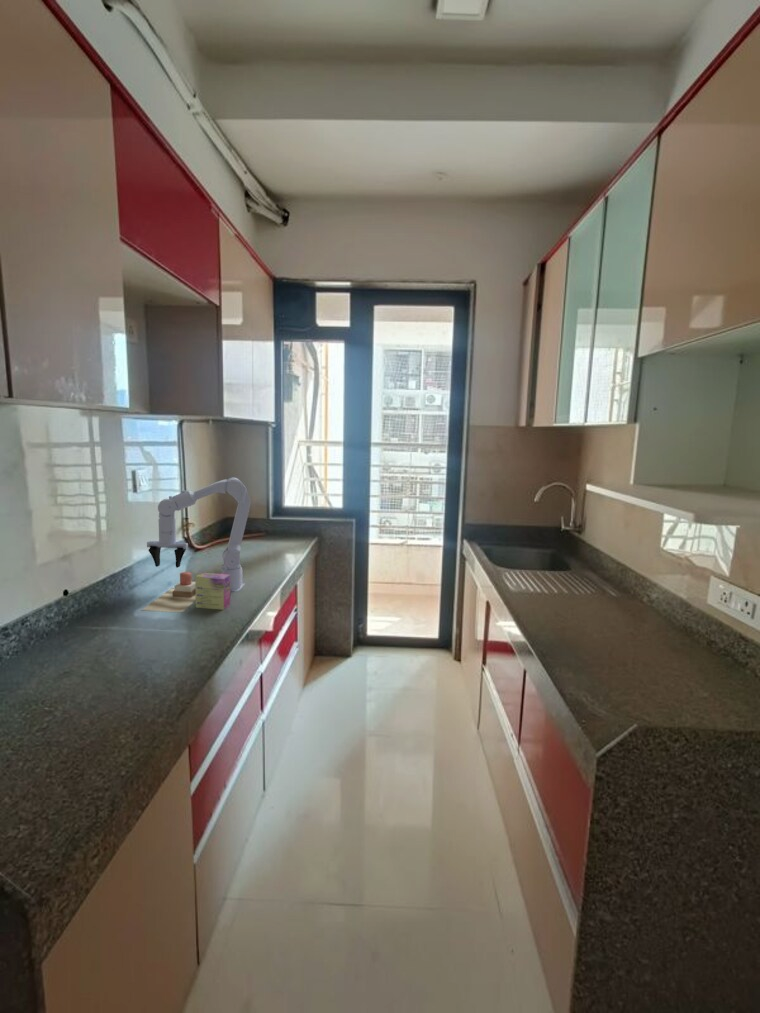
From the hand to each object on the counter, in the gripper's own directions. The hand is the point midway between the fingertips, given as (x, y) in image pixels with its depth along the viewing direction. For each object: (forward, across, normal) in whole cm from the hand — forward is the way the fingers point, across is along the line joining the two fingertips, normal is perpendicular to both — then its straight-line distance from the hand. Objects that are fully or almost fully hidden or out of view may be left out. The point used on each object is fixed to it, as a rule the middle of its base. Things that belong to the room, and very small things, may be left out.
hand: (167, 566), depth 178 cm
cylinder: (+6, +7, -2) cm, 10 cm away
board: (+10, +6, -8) cm, 15 cm away
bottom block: (+10, +7, -2) cm, 12 cm away
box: (+11, +21, -13) cm, 27 cm away
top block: (+8, +7, -2) cm, 11 cm away
